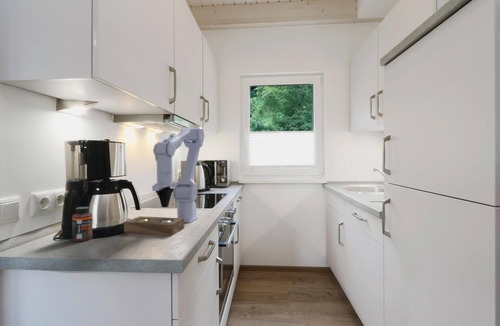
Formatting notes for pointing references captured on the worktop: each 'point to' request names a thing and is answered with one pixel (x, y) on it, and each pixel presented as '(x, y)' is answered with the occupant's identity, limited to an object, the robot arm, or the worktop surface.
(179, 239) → the worktop surface
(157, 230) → the walnut block
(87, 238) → the supplement bottle
